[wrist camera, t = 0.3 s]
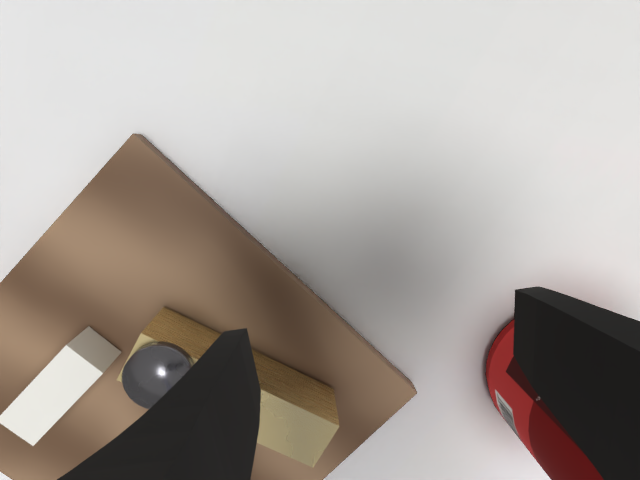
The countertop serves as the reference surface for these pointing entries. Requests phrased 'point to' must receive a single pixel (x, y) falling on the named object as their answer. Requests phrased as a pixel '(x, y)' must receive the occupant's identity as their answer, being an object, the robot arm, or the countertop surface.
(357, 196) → the countertop surface
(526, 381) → the canned food
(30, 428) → the white rectangular block
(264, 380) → the bar
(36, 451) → the plate
